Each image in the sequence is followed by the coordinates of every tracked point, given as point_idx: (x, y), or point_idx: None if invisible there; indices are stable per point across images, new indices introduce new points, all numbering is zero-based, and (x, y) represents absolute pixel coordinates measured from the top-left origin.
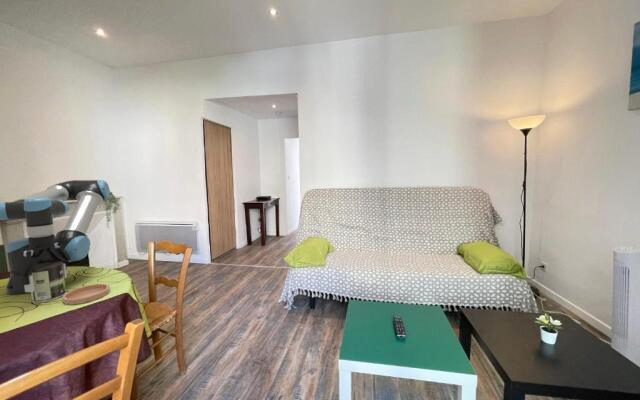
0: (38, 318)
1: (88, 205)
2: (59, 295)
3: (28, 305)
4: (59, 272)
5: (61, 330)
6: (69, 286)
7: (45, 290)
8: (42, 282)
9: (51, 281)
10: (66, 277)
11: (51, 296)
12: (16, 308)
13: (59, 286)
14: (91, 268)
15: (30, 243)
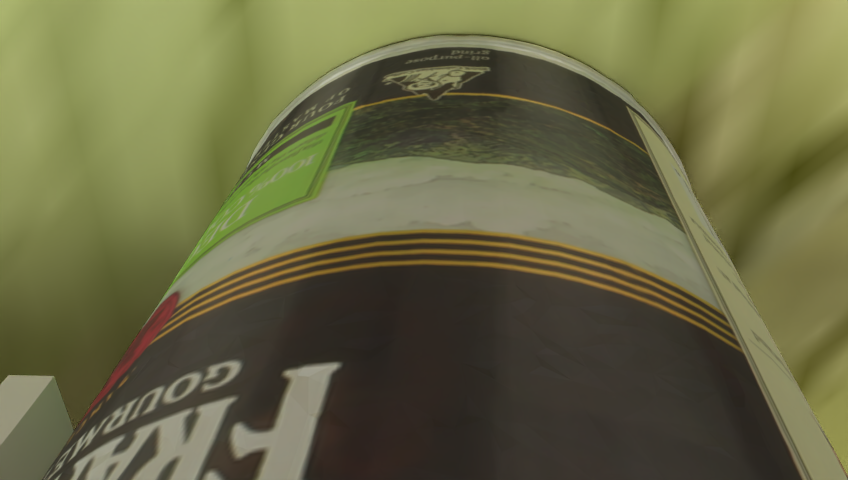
0: None
1: None
2: (497, 56)
3: (764, 316)
4: (359, 447)
5: None
6: (42, 292)
7: (729, 262)
8: (846, 474)
9: (697, 310)
10: (14, 375)
11: (628, 120)
12: (839, 394)
13: (477, 127)
14: None
15: None
